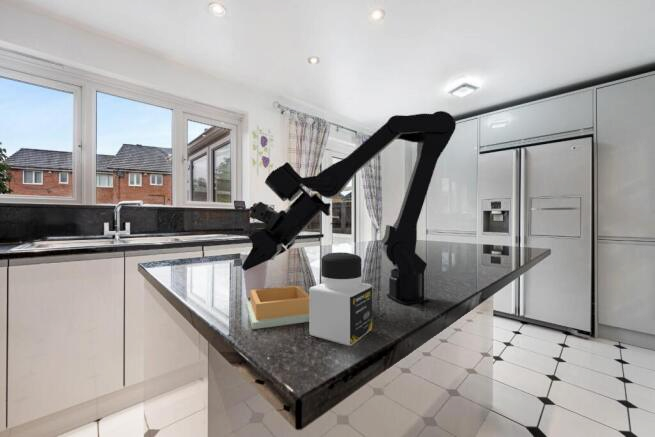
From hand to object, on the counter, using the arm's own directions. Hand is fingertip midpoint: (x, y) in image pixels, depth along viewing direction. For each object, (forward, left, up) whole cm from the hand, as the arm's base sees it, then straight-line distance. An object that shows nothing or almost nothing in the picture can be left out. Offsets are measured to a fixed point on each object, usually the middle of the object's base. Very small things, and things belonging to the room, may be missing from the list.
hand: (248, 266), depth 63 cm
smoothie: (-1, +1, -7) cm, 7 cm away
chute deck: (-9, +14, -7) cm, 17 cm away
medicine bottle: (-11, +26, -7) cm, 29 cm away
